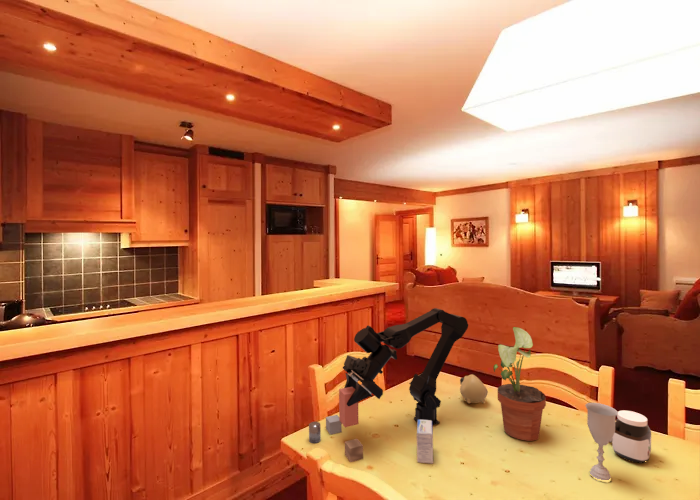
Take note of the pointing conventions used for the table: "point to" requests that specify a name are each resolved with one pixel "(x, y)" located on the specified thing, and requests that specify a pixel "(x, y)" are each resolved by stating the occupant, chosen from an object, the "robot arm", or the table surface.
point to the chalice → (601, 433)
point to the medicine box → (424, 441)
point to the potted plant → (519, 393)
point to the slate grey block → (333, 424)
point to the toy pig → (473, 389)
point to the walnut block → (353, 450)
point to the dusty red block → (347, 408)
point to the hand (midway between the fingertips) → (344, 402)
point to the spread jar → (632, 436)
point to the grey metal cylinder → (314, 432)
